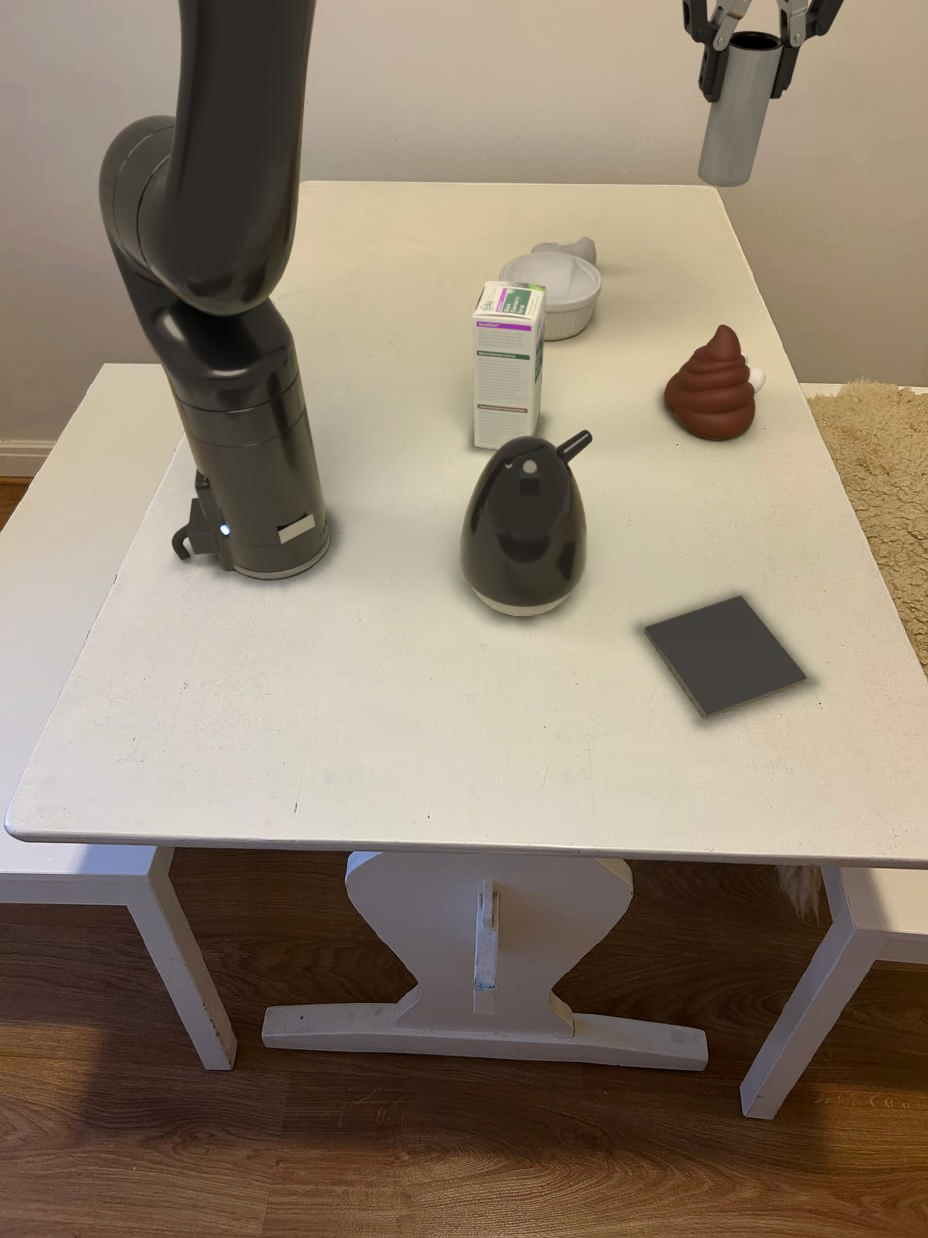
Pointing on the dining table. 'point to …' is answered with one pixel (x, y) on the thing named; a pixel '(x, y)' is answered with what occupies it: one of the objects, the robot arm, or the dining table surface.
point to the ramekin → (559, 289)
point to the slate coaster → (724, 656)
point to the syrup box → (507, 361)
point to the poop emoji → (715, 389)
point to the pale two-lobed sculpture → (571, 249)
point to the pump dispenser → (526, 527)
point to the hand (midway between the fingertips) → (740, 96)
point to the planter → (740, 109)
